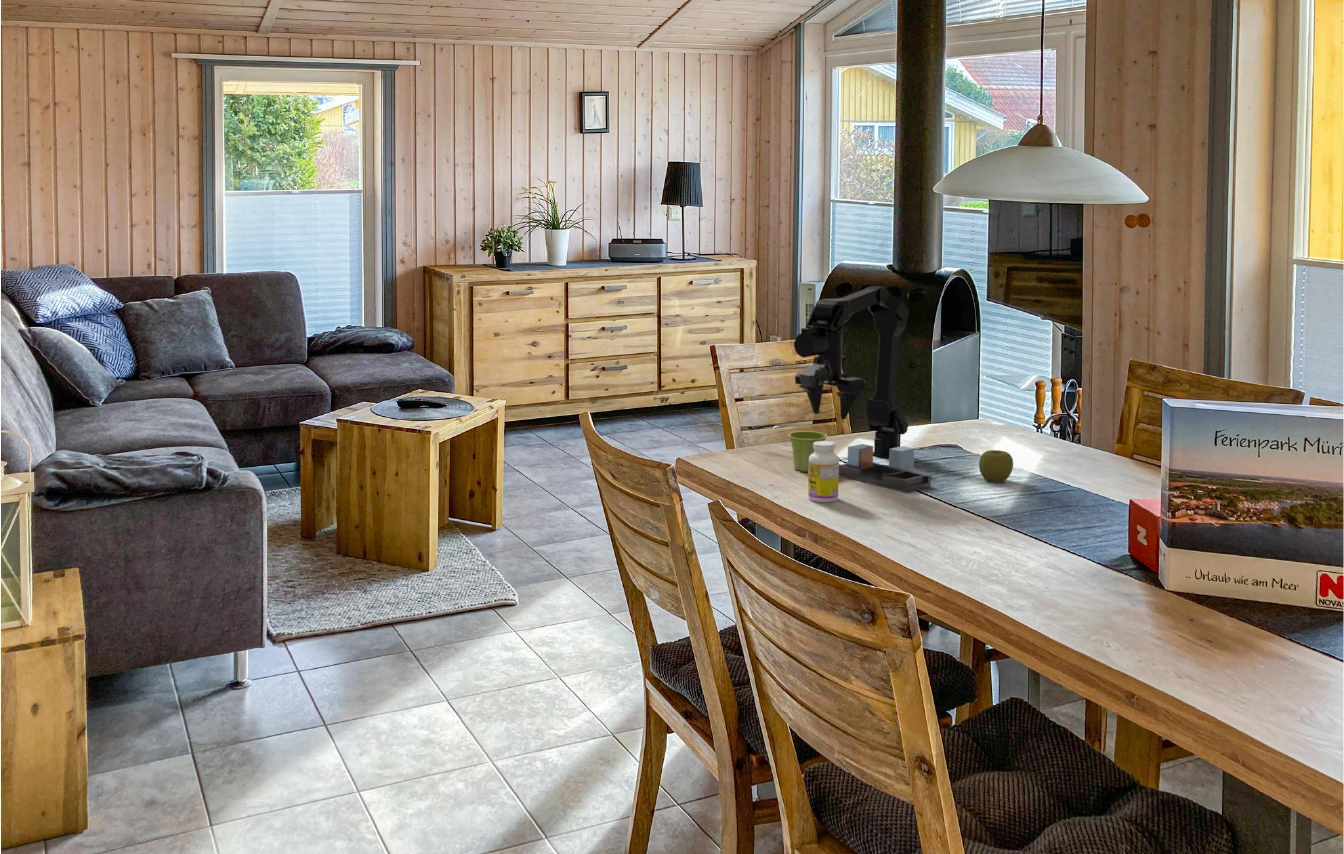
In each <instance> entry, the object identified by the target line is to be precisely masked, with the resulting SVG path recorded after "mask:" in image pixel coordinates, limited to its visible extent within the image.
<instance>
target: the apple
mask: <svg viewBox="0 0 1344 854" xmlns="http://www.w3.org/2000/svg"><path fill="white" fill-rule="evenodd" d="M1013 459H1014V458H1013V457H1012V455H1011V454H1010V453H1009V452H1007V451H1005V450H998V449H997V450H996V449H995V450H994V449H991V450H987V451H985V452H983V453H982V455H980V458H979V460H978V461H979V462H978V467H979V472H980V475H981V476H982V478H983V479H984V481H987V482H989V483H1001V482H1005V481H1006V480H1008V479H1009V477H1010V476H1011V474H1012V471H1013V468H1014V460H1013Z"/></svg>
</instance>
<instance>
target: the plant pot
mask: <svg viewBox="0 0 1344 854" xmlns="http://www.w3.org/2000/svg"><path fill="white" fill-rule="evenodd" d="M788 437H789V439H790V443H791V447H792V448H791V449H792V455H793V465H794V467H793V468H794V469H795V470H796V471H797V470H798V471H800V472H803V473H804V472H805V473H806V472H808V473H809V457H810V455H811V454H813V453H814V448H813V443H814V442H817V441H826V439H827V438H828V435H827V434H826V433H823V432H820V431H811V430H810V431H808V430H805V431H804V430H803V431H802V430H801V431H793V432H792V431H791V432H790V433H788Z"/></svg>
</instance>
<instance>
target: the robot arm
mask: <svg viewBox="0 0 1344 854" xmlns="http://www.w3.org/2000/svg"><path fill="white" fill-rule="evenodd" d="M865 309H867V310H868V311H869V312H870V314H871V315H872V316H873V326H874V327H875V330H876V331H877V334H878V336H879V339H878V352H877V353H878V355H877V367H876V369H877V370H876V383H875V384H876V385H875V386H876V387H875V393H874V394H873V396H872V397H871V398H868V399H867V400H866V411H865V416H866V421H867V424H868V428H869V431H870V432H875V434H874V437H875V438H874V442H873V443H874V445H873V456H876V457H881V458H886V459H889V449H891V448H896V447H901V435H905V434H907V432H908V429H909V423H908V422H907V421H906V419H905V417H904V416H903V414H902V404H901V402H900V399H899V398H898V395H897V393H896V388H897V376H898V360H899V348H900V347H899V346H900V336H901V335H902V334H903V332H904V331H905V329H906V328H907V326H908V318H909V314H910V311H909V307H908V306H907V304H906V303H905V302H903V301H902V299H900V298H899V297H897V296H895V295H894V294H892V293H891V292H890V291H889V290H888V289H887V288H886V287H883V286H873V285H870V286H867V287H865V288H864V289H862V290H859V291H856V292H854V293H851V294H848V295H845V296H843V297H839V298H822V299H818V300H817V301H816V303H815V306H813V309H812V311H811V313H810V316H809V318H808V320H807V322H806V325H805V327H801V328H800V333H799V334H798V335H797V336H796V337H795V340H794V342H793V346H794V351H795V352H796V355H798V356H799V357H801V358H810V357H813V363H812V364H811V365H809V366H807V367H805V368H803V369H802V370H801V371H797V373H796V374H795V376H794V377H795V382H794V384H796V385H798V387H799V388H801V389H802V390H803V391H804V392H805V393H806V394H807V397H808V400H809V402H810V406H811V409H812V411H813V414H814V415H818V414H819V413H820V407H821V404H822V403H821V402H822V397H823V396H822V395H823V390H824V385H826V386H832V387H833V386H834V387H836V388H837V390H838V392H836V395H837V396H838V398H839V401H840V402H839V403H840V404H839V406H840V408H839V409H840V410H839V412H840V419H841V420H842V421H843V420H846V419H847V416H848V414H849V412H850V410H851V409H852V406H853V405H854V403H855V400H856V399H857V398H858V396H859V395H860V394H862V393H863V391H866V388H867V386H866V383H867V382H866V381H865V379H864V378H861V377H856V376H855V377H854V376H851V377H847V375H846V372H843V362H846V358H847V357H846V356H845V355H843V333H847V332H848V328H847V327H846V326H845V325H844V324H845V323H846V322H847V321H849V320H850V319H851V315H853V314H855V313H858V312H860V311H862V310H865Z"/></svg>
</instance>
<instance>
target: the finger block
mask: <svg viewBox="0 0 1344 854" xmlns="http://www.w3.org/2000/svg"><path fill="white" fill-rule="evenodd" d="M888 466H890V467H895V468H899V469H904V470H908V471H912V472H915V471H914V470H915V469H914V468H915V448H914V447H909V446H903V445H902V446H901V445H900V447H896V448H891V449H889V458H888Z"/></svg>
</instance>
